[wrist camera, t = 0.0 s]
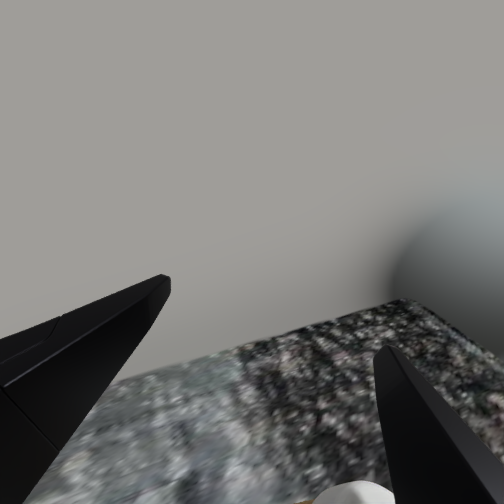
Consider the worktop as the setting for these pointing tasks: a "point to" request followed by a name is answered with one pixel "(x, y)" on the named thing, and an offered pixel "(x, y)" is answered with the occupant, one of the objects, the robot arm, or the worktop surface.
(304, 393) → the worktop surface
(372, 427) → the worktop surface
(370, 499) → the sprinkles bottle
